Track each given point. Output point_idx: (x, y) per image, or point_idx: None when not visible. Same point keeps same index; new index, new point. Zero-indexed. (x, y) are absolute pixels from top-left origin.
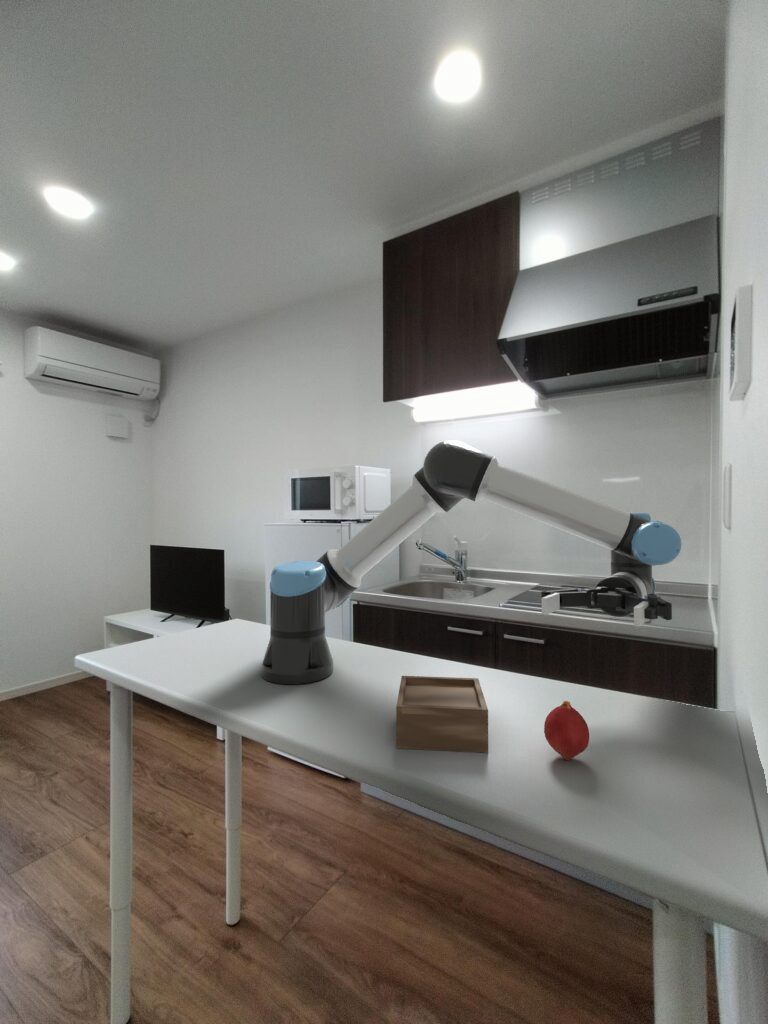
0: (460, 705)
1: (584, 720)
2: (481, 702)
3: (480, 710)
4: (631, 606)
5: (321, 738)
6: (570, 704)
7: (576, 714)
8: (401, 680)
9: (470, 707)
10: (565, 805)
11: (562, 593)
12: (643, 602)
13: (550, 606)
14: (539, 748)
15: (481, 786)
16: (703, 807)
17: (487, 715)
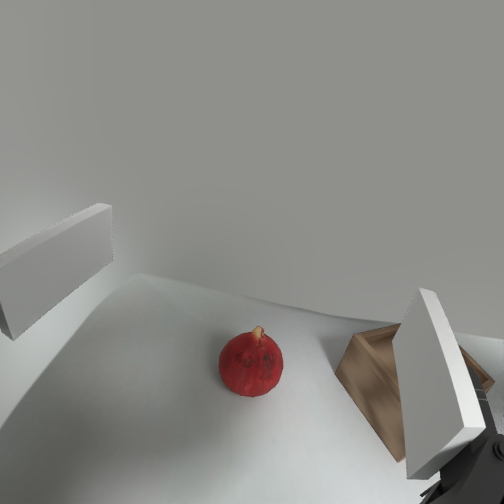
0: (394, 358)
1: (228, 349)
2: (372, 349)
3: (361, 333)
4: None
5: (458, 341)
6: (251, 335)
7: (240, 336)
8: (482, 369)
9: (373, 334)
10: (241, 320)
11: (467, 479)
12: (13, 254)
13: (410, 353)
14: (282, 403)
15: (314, 326)
16: (114, 335)
17: (351, 339)
